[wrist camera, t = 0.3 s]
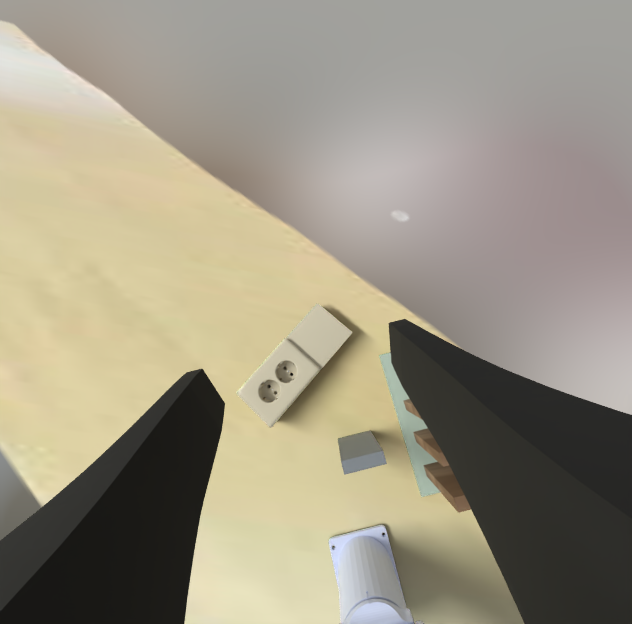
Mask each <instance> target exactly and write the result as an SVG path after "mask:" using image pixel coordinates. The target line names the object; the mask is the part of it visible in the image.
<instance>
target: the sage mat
mask: <svg viewBox="0 0 632 624" xmlns="http://www.w3.org/2000/svg"><path fill="white" fill-rule="evenodd" d="M379 357H380V360H381V364H382V367H383V370H384V374H385V377H386V380H387V384H388V387H389V390H390V394H391V397H392V400H393V404H394V407H395V410H396V414H397V417H398V420H399V424H400V427H401V430H402V434H403V437H404V440H405V444H406V447H407V450H408V454H409V457H410V460H411V464H412V467H413V470H414V474H415V477H416V480H417V484H418V487H419V491H420V494H421V496H422V497H424V496H428V495H431V494H435V493H439V492H440V491H439V490H438V488H437V487H436V486H435V485H434V484H433V483H432V482H431V480H430V479H429V478H428V477H427V475H426V472H425V469H424V466H423V465H427V464H431V463H435V462H438V461H437V460H435V459H434V458H433V457H432V456H431V455H430V454H429V453H428V452H427V451H425V450H424V449H423V448H422V447H421V446H420V445H419V444H418V443H417V442H416V440H415V437H414V433H413V432H415V431H419V430H423V429H427V426H426V424H425V423H424V421H423V420H422V419H420V418H418V417H417V416H415V415H414V414H412V413H410V412H409V411H407V410H406V408H405V404H404V401H403V400H407V399H410V398H409V397H408V395H407V394H406V392H405V390H404V389H403V387H402V385H401V383H400V381H399V379H398V377H397V374H396V372H395V370H394V368H393V366H392V363H391V352H390V353H386V354H382V355H379Z"/></svg>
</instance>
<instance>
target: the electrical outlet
mask: <svg viewBox="0 0 632 624" xmlns="http://www.w3.org/2000/svg"><path fill="white" fill-rule="evenodd" d="M352 333H353V332H352V331H350V330H349V329H348V328H347V327H346V326H344V325H343V324H342V323H341V322H340V321H338V320H337V319H336V318H335V317H334V316H333V315H331V314H330V313H329V312H328V311H327V310H325V309H324V308H323V307H322V306H321V305H319V304H318V303H317V304H316V305H315V306H314V307H313V308H312V309H311V310H310V311H309V312H308V314H307V315H306V316H305V317H304V318H303V319H302V320H301V321H300V323H299V324H298V325H297V326H296V327H295V328H294V329H293V330H292V331H291V333H290V334H289V335H288V336H287V337H286V338H284V339H283V341H282V342H281V343H280V344H279V345H278V346H277V347H276V348H275V349H274V351H273V352H272V353H271V354H270V355H269V356H268V357H267V358H266V359H265V361H264V362H263V363H262V364H261V365H260V366H259V367H258V368H257V369H256V371H255V372H254V373H253V374H252V375H251V376H250V377H249V378H248V380H247V381H246V382H245V383H244V384H243V385H242V386H241V387H240V388H239V390H238V391H237V395H238V396H239V397H240V398H241V399H242V400H243V401H244V402H245V403H246V404H247V405H248V406H249V407H250V408H251V409H252V410H253V411H254V412H255V413H256V414H257V415H258V416H259V417H260V418H261V419H262V420H263V421H264V422H265V423H266V424H267V425H268V426H269V427H273V426H274V424H275V423H276V422H277V421H278V420H279V419H280V417H281V416H282V415H283V414H284V413H285V411H286V410H287V409H288V408H289V407H290V406H291V404H292V403H293V402H294V401H295V400H296V399H297V397H298V396H299V395H300V394H301V393H302V391H303V390H304V389H305V388H306V387H307V386H308V384H309V383H310V382H311V381H312V380H313V379H314V377H315V376H316V375H317V374H318V373H319V371H320V370H321V369H322V368H323V367H324V366H325V364H326V363H327V362H328V361H329V360H330V358H331V357H332V356H333V355H334V354H335V353H336V351H337V350H338V349H339V348H340V347H341V346H342V344H343V343H344V342H345V341H346V340H347V338H348V337H349V336H350V335H351V334H352ZM286 367H287V369H286ZM292 373H293V375H292Z"/></svg>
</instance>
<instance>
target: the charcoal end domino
mask: <svg viewBox="0 0 632 624" xmlns="http://www.w3.org/2000/svg"><path fill="white" fill-rule="evenodd" d="M338 443H339V450H340V456H341V462H342V467H343V471H344V475H345V474H349V473H353V472H357V471H360V470H364V469H368V468H372V467H376V466H380V465H384V464H387V463H386V459H385V456H384V452H383V450H382V448H381V447H380V445H379V443H378V442H377V440H376V439H375V437H374V436H373V434H372V432H371V431H366V432H362V433H358V434H354V435H350V436H346V437H342V438H338Z"/></svg>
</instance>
